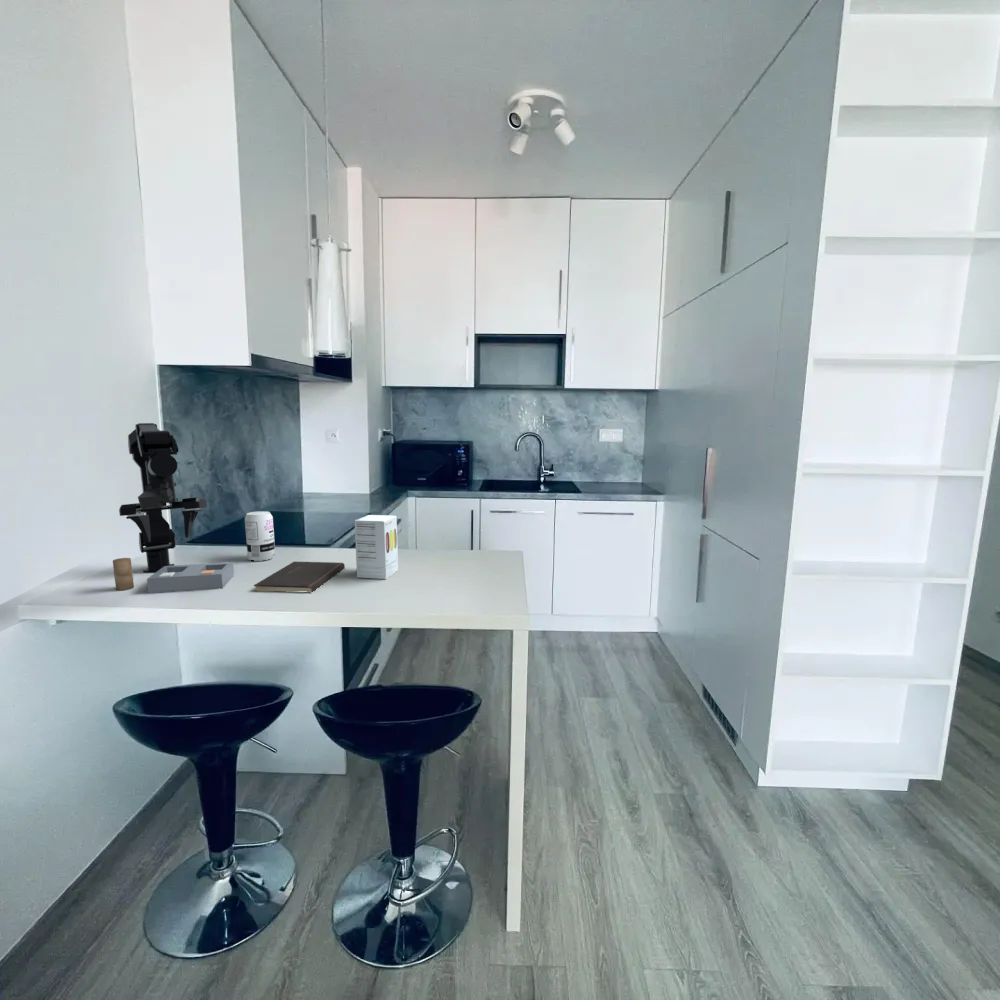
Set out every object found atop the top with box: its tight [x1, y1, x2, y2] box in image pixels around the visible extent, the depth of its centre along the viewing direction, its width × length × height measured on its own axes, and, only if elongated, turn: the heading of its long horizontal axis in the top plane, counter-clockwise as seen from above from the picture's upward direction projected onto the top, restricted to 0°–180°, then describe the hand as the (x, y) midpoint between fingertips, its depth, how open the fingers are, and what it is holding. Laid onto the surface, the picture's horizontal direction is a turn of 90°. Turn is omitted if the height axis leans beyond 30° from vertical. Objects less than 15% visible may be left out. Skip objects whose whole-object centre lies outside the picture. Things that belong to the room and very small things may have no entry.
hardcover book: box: [253, 561, 346, 593], centre depth 156 cm, size 16×23×2 cm
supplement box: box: [354, 514, 399, 580], centre depth 159 cm, size 10×9×17 cm
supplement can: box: [244, 510, 276, 562], centre depth 176 cm, size 8×8×15 cm
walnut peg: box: [112, 557, 135, 592], centre depth 148 cm, size 4×4×8 cm
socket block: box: [146, 561, 235, 594], centre depth 152 cm, size 12×18×4 cm, turn 102°
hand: (168, 539), depth 141 cm, fingers open, 9 cm apart
